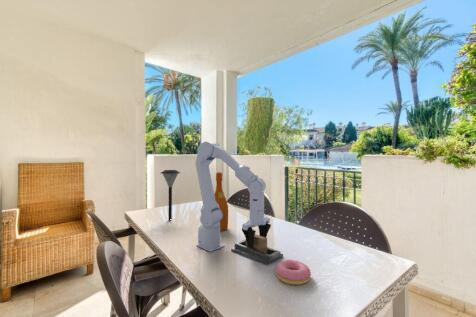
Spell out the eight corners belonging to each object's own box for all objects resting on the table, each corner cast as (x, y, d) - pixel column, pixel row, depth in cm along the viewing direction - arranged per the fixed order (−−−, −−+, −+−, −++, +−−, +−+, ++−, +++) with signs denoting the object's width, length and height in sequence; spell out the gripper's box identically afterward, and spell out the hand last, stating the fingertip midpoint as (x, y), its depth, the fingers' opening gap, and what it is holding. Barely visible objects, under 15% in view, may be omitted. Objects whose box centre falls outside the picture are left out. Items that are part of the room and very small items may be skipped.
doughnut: (285, 266, 81) (285, 254, 81) (316, 276, 74) (316, 263, 74) (268, 278, 73) (268, 265, 73) (302, 292, 66) (302, 277, 66)
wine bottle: (206, 231, 119) (206, 172, 118) (213, 225, 128) (213, 171, 128) (225, 233, 116) (225, 173, 116) (230, 227, 126) (230, 171, 126)
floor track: (231, 250, 94) (231, 244, 94) (247, 244, 101) (247, 238, 101) (267, 265, 81) (267, 258, 81) (283, 256, 89) (283, 250, 89)
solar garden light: (158, 218, 142) (158, 169, 142) (178, 216, 148) (178, 169, 148) (160, 223, 131) (161, 170, 131) (182, 221, 136) (182, 170, 136)
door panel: (245, 248, 94) (245, 233, 94) (249, 247, 95) (249, 232, 95) (263, 255, 87) (263, 239, 87) (267, 253, 89) (267, 237, 89)
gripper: (252, 214, 83) (252, 252, 83) (276, 208, 94) (275, 242, 94) (238, 211, 88) (238, 247, 88) (262, 205, 99) (261, 237, 99)
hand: (256, 244), depth 91 cm, fingers open, 7 cm apart
